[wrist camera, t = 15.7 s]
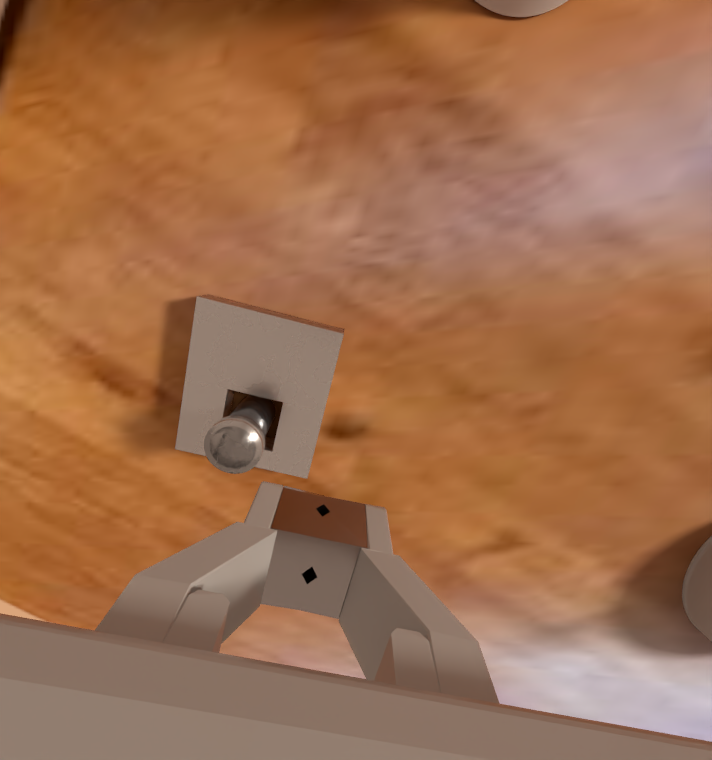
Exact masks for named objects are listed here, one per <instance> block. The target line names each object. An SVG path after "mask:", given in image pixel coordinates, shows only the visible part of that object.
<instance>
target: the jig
mask: <svg viewBox="0 0 712 760" xmlns="http://www.w3.org/2000/svg"><path fill="white" fill-rule="evenodd" d="M343 335H344V329H341V328H337V327H333V326H330V325H326V324H322V323H318V322H314V321H310V320H306V319H302V318H298V317H294V316H291V315H287V314H283V313H279V312H275V311H271V310H267V309H263V308H259V307H256V306H252V305H248V304H244V303H240V302H236V301H232V300H228V299H224V298H221V297H217V296H213V295H209V294H208V295H202V296H197V298H196V306H195V313H194V320H193V327H192V334H191V341H190V348H189V355H188V362H187V369H186V376H185V383H184V390H183V397H182V404H181V411H180V418H179V425H178V432H177V439H176V446H175V449H177V450H181V451H186V452H190V453H195V454H199V455H204V456H206V454H205V451H204V440H205V436H206V434H207V433H208V431H209V430H210V429H211V428H212V426H213V425H214V424H215V423H216V422H217V421H219V420H220V419H222V418H224V417H228V416H229V415H230V414H231V408H232V403H233V397H234V392H235V391H238V392H242V393H246V394H251V395H255V396H259V397H263V398H267V399H271V400H276V401H280V402H283V405H282V410H281V414H280V419H279V424H278V428H277V433H276V437H275V439H274V438H270V437H266V436H265V448H264V452H263V454H262V456H261V458H260V460H259V462H258V463H257V464H256V466H254V467H258V468H262V469H266V470H271V471H275V472H280V473H284V474H289V475H293V476H298V477H302V478H308V474H309V470H310V466H311V462H312V458H313V454H314V450H315V446H316V442H317V438H318V434H319V430H320V426H321V422H322V418H323V414H324V410H325V406H326V402H327V398H328V394H329V390H330V386H331V382H332V378H333V374H334V370H335V366H336V362H337V358H338V354H339V350H340V346H341V342H342V339H343Z"/></svg>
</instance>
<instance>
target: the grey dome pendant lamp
mask: <svg viewBox="0 0 712 760" xmlns="http://www.w3.org/2000/svg"><path fill="white" fill-rule="evenodd" d="M682 601H683V606H684V609H685V612H686V614H687V616H688V618H689V620H690V621H691V622H692V624H693V625H694V626H695V627H696V628H697V629H698V630H699V631H700V632H701V633H703V634H704V635H705V636H706V637H707V638H708V639H709V640H710V641H711V642H712V536H711V537H710V538H709V539H708V540H707V541H706V542H705V543H704V544H703V545H702V546H701V548H700V549H699V550H698V551H697V553H696V554H695V556H694V557H693V559H692V561H691V563H690V565H689V567H688V569H687V571H686V574H685V577H684V581H683V587H682Z"/></svg>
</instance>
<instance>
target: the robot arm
mask: <svg viewBox="0 0 712 760" xmlns="http://www.w3.org/2000/svg"><path fill="white" fill-rule="evenodd" d="M475 1H476V2H477V3H479V4H480V5H482V6H483V7H485V8H487V9H489V10H491V11H493V12H495V13H498V14H501V15H505V16H511V17H529V16H535V15H539V14H542V13H545V12H548V11H550V10H553V9H555V8H557V7H558V6H560V5H562V4H563V3H565V2H566V1H568V0H475ZM260 604H265V605H271V606H277V607H284V608H290V609H296V610H301V611H306V612H310V613H315V614H319V615H324V616H328V617H333V618H337V619H339V623H340V625H341V627H342V629H343V631H344V633H345V635H346V637H347V639H348V641H349V643H350V646H351V648H352V650H353V652H354V654H355V656H356V658H357V660H358V662H359V664H360V666H361V669H362V671H363V673H364V675H365V677H366V679H361V678H356V677H350V676H344V675H339V674H333V673H328V672H322V671H316V670H311V669H305V668H300V667H294V666H289V665H283V664H277V663H272V662H266V661H261V660H255V659H250V658H244V657H238V656H233V655H227V654H222V653H219V650H220V646H221V644H222V643H223V642H224V641H225V640H226V639H227V638H228V637H229V636H230V635H231V634H232V633H233V632H234V631H235V630H236V629H237V628H238V627H239V626H240V625H241V624H242V623H243V622H244V621H245V620H246V619H247V618H248V617H249V616H250V615H251V614H252V613H253V612H254V611H255V610H256V609H257V608H258V607H259V606H260ZM0 760H712V742H710V741H704V740H698V739H693V738H687V737H682V736H676V735H671V734H665V733H660V732H654V731H649V730H643V729H638V728H632V727H627V726H621V725H616V724H610V723H604V722H599V721H593V720H587V719H582V718H576V717H570V716H564V715H559V714H553V713H547V712H542V711H536V710H531V709H526V708H520V707H515V706H509V705H504V704H499V701H498V698H497V695H496V692H495V689H494V686H493V683H492V681H491V678H490V675H489V672H488V669H487V666H486V663H485V660H484V657H483V654H482V651H481V648H480V646H479V643H478V641H477V640H476V639H475V638H474V637H473V636H472V635H471V634H470V632H469V631H468V630H467V629H466V628H465V627H464V626H463V625H462V624H461V623H460V622H459V620H458V619H457V618H456V617H455V616H454V615H453V614H452V613H451V612H450V611H449V610H448V608H447V607H446V606H445V605H444V604H443V603H442V602H441V601H440V600H439V599H438V597H437V596H436V595H435V594H434V593H433V592H432V591H431V590H430V589H429V588H428V587H427V585H426V584H425V583H424V582H423V581H422V580H421V579H420V578H419V577H418V576H417V575H416V573H415V572H414V571H413V570H412V569H411V568H410V567H409V566H408V565H407V564H406V563H405V561H404V560H403V559H402V558H401V557H400V556H398V555H394V554H393V550H392V544H391V537H390V531H389V524H388V518H387V511H386V509H385V508H384V507H380V506H374V505H368V504H362V503H357V502H352V501H346V500H341V499H336V498H331V497H326V496H324V495H320V494H316V493H312V492H307V491H303V490H299V489H295V488H291V487H287V486H284V487H283V485H279V484H274V483H269V482H264V481H263V482H262V483H261V484H260V487H259V489H258V491H257V493H256V496H255V498H254V500H253V503H252V505H251V507H250V510H249V512H248V514H247V517H246V519H245V521H244V523H241V522H236V523H234V524H232V525H230V526H228V527H226V528H224V529H223V530H221V531H219V532H217V533H215V534H213V535H211V536H209V537H207V538H205V539H203V540H201V541H199V542H197V543H195V544H194V545H192V546H190V547H188V548H186V549H184V550H182V551H180V552H178V553H176V554H174V555H172V556H170V557H168V558H167V559H165V560H163V561H161V562H159V563H157V564H155V565H153V566H151V567H149V568H147V569H145V570H143V571H141V572H139V573H138V574H136V575H135V576H134V577H133V578H132V580H131V581H130V583H129V584H128V585H127V587H126V588H125V589H124V591H123V592H122V594H121V595H120V596H119V598H118V599H117V600H116V602H115V603H114V605H113V606H112V607H111V609H110V610H109V612H108V613H107V614H106V616H105V617H104V618H103V620H102V621H101V623H100V624H99V625H98V627H97V628H96V629H95V631H94V630H89V629H83V628H78V627H72V626H67V625H61V624H56V623H50V622H44V621H39V620H33V619H27V618H22V617H17V616H11V615H5V614H0Z"/></svg>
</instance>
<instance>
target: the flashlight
mask: <svg viewBox="0 0 712 760" xmlns="http://www.w3.org/2000/svg"><path fill="white" fill-rule="evenodd" d="M275 415H276V408H275V405H274V403H273V402H272V400H271V399H267V398H263V397H259V396H255V395H251V394H250V395H248V396H246V397H245V398H244V399H243V400H242V401H241V402H240V403H239V405H238V406H237V407H236V408H235V409H234V411H233V412H232V413H231V414H230V415H229V416H228V417H224V418H222V419H220V420H219V421H217V422H216V423H215V424H214V425H213V426H212V428H211V429H210V430H209V431H208V433H207V434H206V436H205V440H204V451H205V454H206V456H207V458H208V460H209V461H210V462H211V463H212V464H213V465H214V466H215V467H216V468H218V469H220V470H221V471H224V472H227V473H234V474H237V473H243V472H247V471H249V470H250V469H252V468H253V467H254V466H256V464H257V463H258V462H259V460H260V458H261V456H262V454H263V452H264V448H265V436H266V434H267V432H268V430H269V428H270V426H271V424H272V422H273V420H274V418H275Z"/></svg>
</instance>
